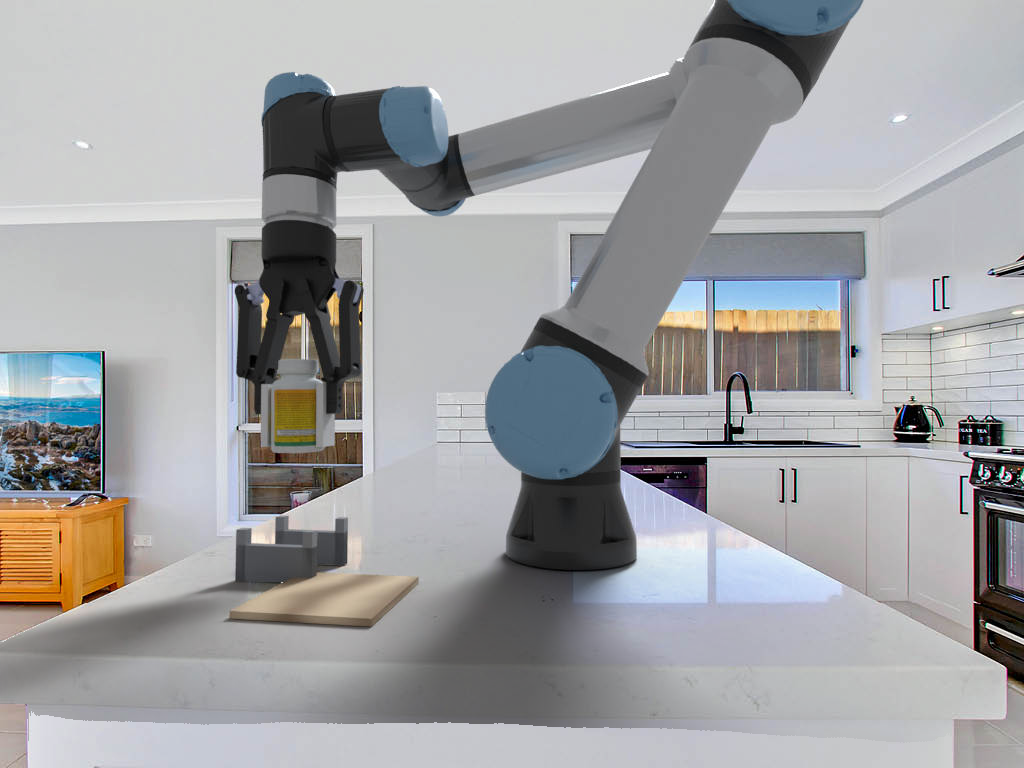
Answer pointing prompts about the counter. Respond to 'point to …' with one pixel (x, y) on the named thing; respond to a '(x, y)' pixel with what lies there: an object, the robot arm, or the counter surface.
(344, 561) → the holder
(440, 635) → the counter surface
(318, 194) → the robot arm
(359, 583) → the square wooden board
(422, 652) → the counter surface
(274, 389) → the supplement bottle
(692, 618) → the counter surface
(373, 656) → the counter surface
